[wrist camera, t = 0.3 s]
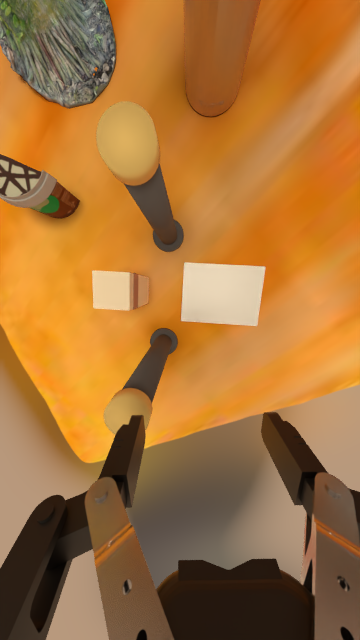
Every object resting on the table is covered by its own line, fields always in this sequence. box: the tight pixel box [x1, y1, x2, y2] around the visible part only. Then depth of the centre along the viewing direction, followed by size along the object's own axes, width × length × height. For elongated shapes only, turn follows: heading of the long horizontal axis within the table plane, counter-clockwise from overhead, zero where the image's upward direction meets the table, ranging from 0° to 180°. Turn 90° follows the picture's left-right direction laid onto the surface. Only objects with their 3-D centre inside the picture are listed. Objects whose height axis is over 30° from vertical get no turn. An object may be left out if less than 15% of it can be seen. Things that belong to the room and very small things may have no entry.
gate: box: [96, 101, 183, 435], centre depth 26 cm, size 28×6×24 cm, turn 177°
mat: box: [181, 262, 265, 326], centre depth 36 cm, size 12×16×1 cm
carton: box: [92, 271, 149, 311], centre depth 32 cm, size 6×6×12 cm
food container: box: [0, 154, 80, 218], centre depth 31 cm, size 12×6×10 cm, turn 67°
